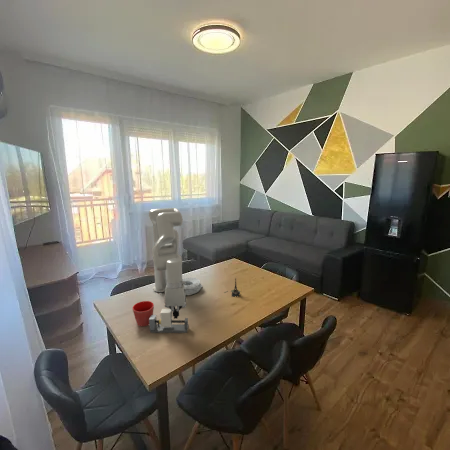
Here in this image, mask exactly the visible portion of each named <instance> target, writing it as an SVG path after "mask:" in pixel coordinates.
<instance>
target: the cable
mask: <svg viewBox="0 0 450 450" xmlns="http://www.w3.org/2000/svg"><path fill="white" fill-rule="evenodd" d="M182 279H183V281H185V284H183V285H184V287H185V293H186V296H191V295H195V294H196V293H198V292H200V291H201V289H202V287H203V284H202V283H201V280H200V279H199V278H196V277H184V278H182Z"/></svg>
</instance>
